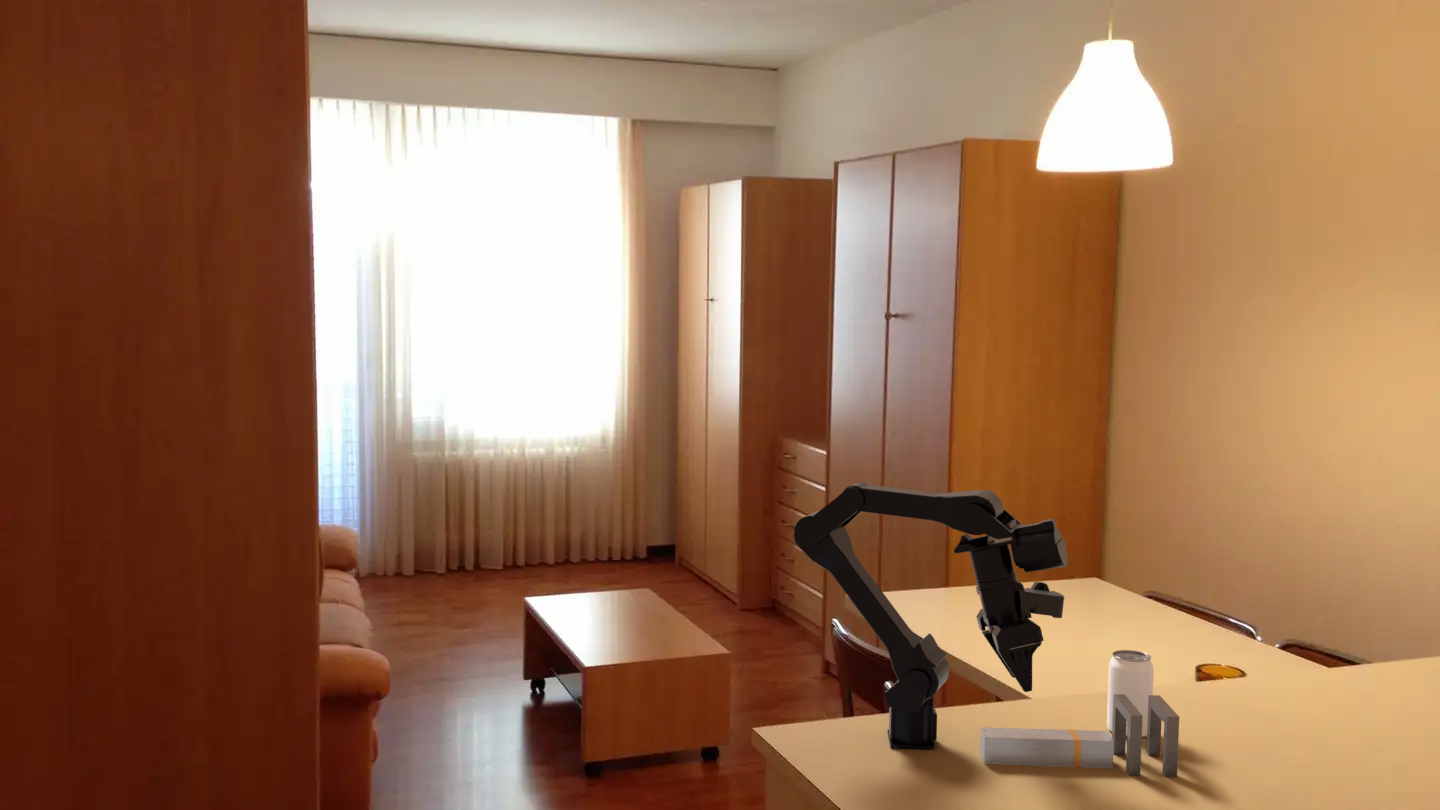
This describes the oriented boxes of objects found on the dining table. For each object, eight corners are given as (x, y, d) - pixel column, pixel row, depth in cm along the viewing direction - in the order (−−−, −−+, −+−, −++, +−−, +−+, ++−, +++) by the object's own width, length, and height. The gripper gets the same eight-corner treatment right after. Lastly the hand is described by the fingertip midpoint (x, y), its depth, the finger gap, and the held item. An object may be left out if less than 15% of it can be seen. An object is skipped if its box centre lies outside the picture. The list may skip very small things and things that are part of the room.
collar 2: (1165, 776, 165) (1167, 716, 164) (1146, 752, 174) (1148, 695, 173) (1176, 776, 165) (1179, 716, 164) (1157, 752, 174) (1159, 695, 173)
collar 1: (1128, 775, 165) (1130, 715, 164) (1111, 751, 174) (1113, 694, 173) (1140, 775, 165) (1142, 715, 164) (1122, 751, 174) (1124, 694, 173)
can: (1154, 740, 178) (1157, 662, 177) (1109, 737, 180) (1112, 660, 179) (1147, 725, 185) (1150, 650, 184) (1104, 722, 186) (1107, 647, 185)
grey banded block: (984, 764, 169) (985, 737, 169) (979, 753, 173) (980, 726, 173) (1112, 768, 168) (1113, 740, 167) (1105, 757, 172) (1106, 730, 171)
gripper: (1066, 573, 160) (1093, 686, 160) (1038, 557, 179) (1062, 658, 179) (985, 591, 161) (1012, 704, 161) (965, 574, 180) (990, 674, 179)
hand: (1022, 684), depth 170 cm, fingers open, 9 cm apart
